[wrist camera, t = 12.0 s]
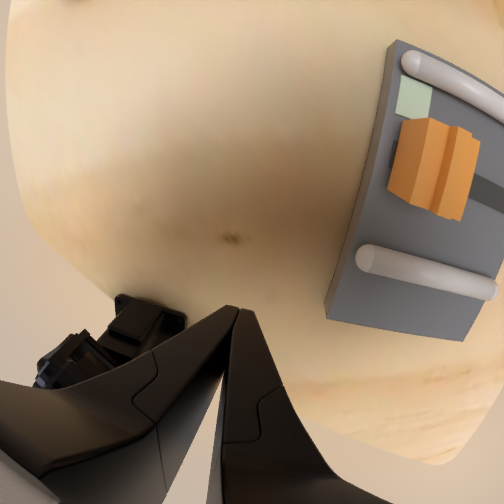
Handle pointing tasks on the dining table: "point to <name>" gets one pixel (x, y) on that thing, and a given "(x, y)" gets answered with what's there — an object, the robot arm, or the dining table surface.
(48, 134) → the dining table surface
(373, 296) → the switch panel
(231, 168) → the dining table surface
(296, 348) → the dining table surface
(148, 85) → the dining table surface
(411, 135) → the breaker handle
